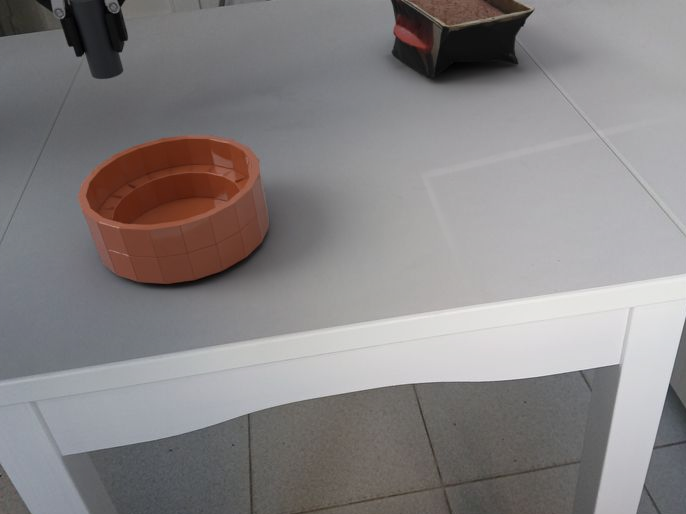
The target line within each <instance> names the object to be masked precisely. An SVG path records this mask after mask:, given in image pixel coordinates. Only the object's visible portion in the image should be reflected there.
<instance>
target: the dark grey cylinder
mask: <svg viewBox="0 0 686 514" xmlns="http://www.w3.org/2000/svg"><path fill="white" fill-rule="evenodd" d="M69 4H70V6H71V9H72V12H73V15H74V19H75V22H76V25H77V29H78V32H79V35H80V39H81V42H82V45H83V48H84V55H85V59H86V61H87V65H88V68H89V71H90V74H91V77H92V78H94V79H97V80H106V79H107V80H108V79H113V78H116V77H118V76H120V75H122V74H123V73H124V66H123V63H122V60H121V55H120V53H117V52H115V51H114V47H113V44H112V40H111V36H110V33H109V29H108V25H107V22H106V18H105V15H106V13H107V10H106V2H105V0H69Z"/></svg>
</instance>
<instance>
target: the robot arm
mask: <svg viewBox="0 0 686 514" xmlns="http://www.w3.org/2000/svg"><path fill="white" fill-rule="evenodd" d="M35 1H36V2H37V3H38V4H39V5H41V6H43V7H44V8H45V9H47V10H48V11H49V12H51V13H52V14H53V15H54V18H56V19H58V20H59V22H60V24H61V28H62V32H63V35H64V37H65V40H66V44H67V46H68V47H69V48H73V50H74V53H75V57H76V58H81V57H83V56H84V55H85V52H84V48H83V45H82V42H81V39H80V35H79V32H78V29H77V25H76V22H75V19H74V15H73V12H72V9H71V6H70V2H69V0H35ZM125 2H126V0H105V4H106V10H107V13H106V15H105V18H106V22H107V25H108V29H109V33H110V36H111V40H112V44H113V47H114V51H115V52H117V53H119V54H120V53H123V51H124V47H125V42H128V41H129V34H128V29H127V25H126V22H125V17H124V15H123V11H122V7H123V4H124V3H125Z"/></svg>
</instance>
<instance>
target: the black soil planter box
mask: <svg viewBox="0 0 686 514" xmlns="http://www.w3.org/2000/svg"><path fill="white" fill-rule="evenodd" d="M390 2H391V5H392V9H393V15H394V21H395V25H394V26H393V36H394V37H395V40H394V45H393V48H392V50H391V54H392V55H393V56H394V57H395V58H396V59H398V60H399V61H400V62H401V63H403V64H405V66H408V67H409V68H411V69H412V70H414V71H416V72H418V73H419V74H421V75H422V76H424V77H426V78H428V79H430V80H433V79H434V78H435V77H436V76H437V75H439V74H440V73H442V72H443V71H444V70H445V69H447V68H448V67H450V66H451V65H452V64H453V63H454V62H455V63H456V62H457V63H461V62H505V63H508V64H509V63H510V64H514V65H519V60H518V58H517V56H516V55H517V54H516V49H515V48H516V39H517V35H518V33H519V32H520V30H521V29H522V28H523V27H525V24H526V22H527V20H528V18H529V17H530V16H531V15H532V14H533V13H534V12H535V7H533V6H530V5H529V4H527V3H524V2H522V1H520V0H390Z"/></svg>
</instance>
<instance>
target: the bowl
mask: <svg viewBox="0 0 686 514" xmlns="http://www.w3.org/2000/svg"><path fill="white" fill-rule="evenodd" d="M264 185H265V184H264V181H263V174H262V169H261V164H260V159H259V158H258V156H257V155H256V154H255V152H254V151H253V150H252V149H251V148H250V147H248V146H246V145H244V144H242V143H240V142H238V141H236V140H234V139H231V138H226V137H223V136H222V137H221V136H216V135H212V134H211V135H210V134H205V135H204V134H185V135H177V136H170V137H164V138H163V137H162V138H159V139H155V140H152V141H147V142H144V143H141V144H136V145H134V146H132V147H129V148H127V149H125V150H123V151H120V152H118V153H115V154H114V155H112V156H110V157H109V158H107V159H106V160H105V161H103V162H102V163H100V164H99V165H97V166H96V167H94V168H93V169H92V170H91V172H90V173H89V174H88V175H87V176H86V178H84V180H83V181H82V182H81V185H80V188H79V192H78V194H77V200H78V202H79V205H80V208H81V211H82V213H83V216H84V218H85V221H86V225H87V227H88V229H89V231H90V232H89V233H90V234H91V237H92V240H93V243H94V245H95V248H96V250H97V252H98V255H99V258H100V261H101V263H102V265H103V266H105V267H106V268H107V269H108V270H109V271H111V272H112V273H113V274H115V276H119V277H121V278H123V279H128V280H131V281H134V282H137V283H145V284H163V285H165V284H166V285H169V284H176V283H183V282H190V281H197V280H199V279H202V278H205V277H209V276H211V275H214V274H217V273H220V272H223V271H225V270H226V269H228V268H230V267H232V266H234V265H235V264H237V263H239V262H240V261H243V260H245V259H246V258H247V257H249V255H251V253H253V251H255V250H256V249H257V248H258V247H259V246H260V245H261V244H262V242H263V240H264V238H265V236H266V234H267V233H268V230H269V228H270V217H269V208H268V202H267V197H266V192H265V191H266V190H265V186H264Z"/></svg>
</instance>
